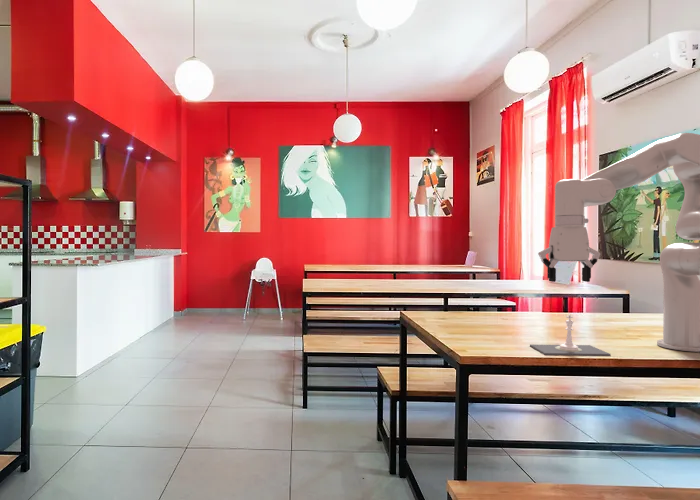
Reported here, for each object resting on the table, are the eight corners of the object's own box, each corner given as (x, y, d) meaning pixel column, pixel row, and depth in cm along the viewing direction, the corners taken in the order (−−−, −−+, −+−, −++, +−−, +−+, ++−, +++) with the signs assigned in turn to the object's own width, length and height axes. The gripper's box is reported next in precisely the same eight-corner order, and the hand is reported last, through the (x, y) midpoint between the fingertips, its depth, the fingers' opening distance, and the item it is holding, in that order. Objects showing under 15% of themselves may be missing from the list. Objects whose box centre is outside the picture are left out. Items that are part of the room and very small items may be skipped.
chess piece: (580, 351, 124) (581, 315, 124) (562, 349, 125) (563, 315, 125) (575, 347, 129) (576, 313, 129) (557, 346, 130) (558, 312, 130)
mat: (589, 346, 132) (589, 344, 132) (610, 355, 121) (610, 353, 121) (529, 346, 133) (529, 344, 133) (544, 354, 122) (544, 352, 122)
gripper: (592, 223, 130) (592, 280, 130) (534, 223, 131) (533, 280, 131) (606, 221, 123) (606, 282, 123) (544, 221, 123) (544, 282, 123)
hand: (569, 281), depth 127 cm, fingers open, 9 cm apart
